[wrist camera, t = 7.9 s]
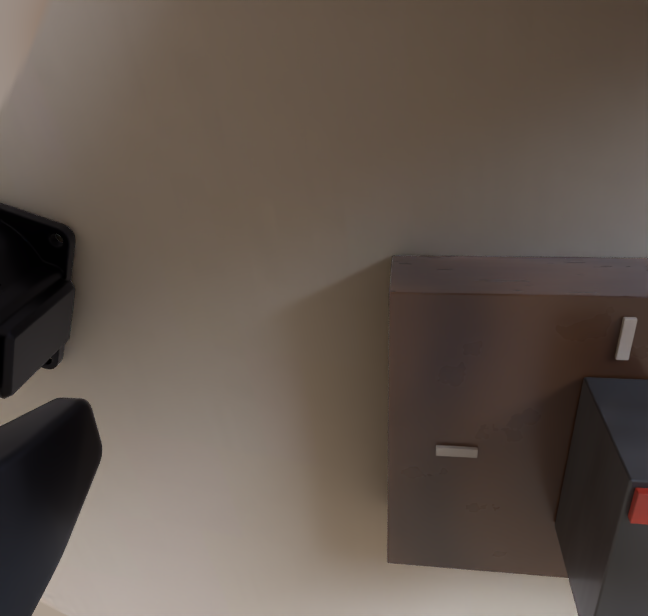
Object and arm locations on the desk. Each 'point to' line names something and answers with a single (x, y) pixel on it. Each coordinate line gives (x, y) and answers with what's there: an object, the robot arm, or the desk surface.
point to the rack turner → (607, 500)
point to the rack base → (497, 398)
